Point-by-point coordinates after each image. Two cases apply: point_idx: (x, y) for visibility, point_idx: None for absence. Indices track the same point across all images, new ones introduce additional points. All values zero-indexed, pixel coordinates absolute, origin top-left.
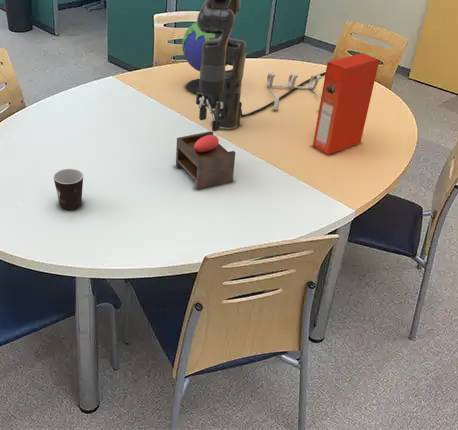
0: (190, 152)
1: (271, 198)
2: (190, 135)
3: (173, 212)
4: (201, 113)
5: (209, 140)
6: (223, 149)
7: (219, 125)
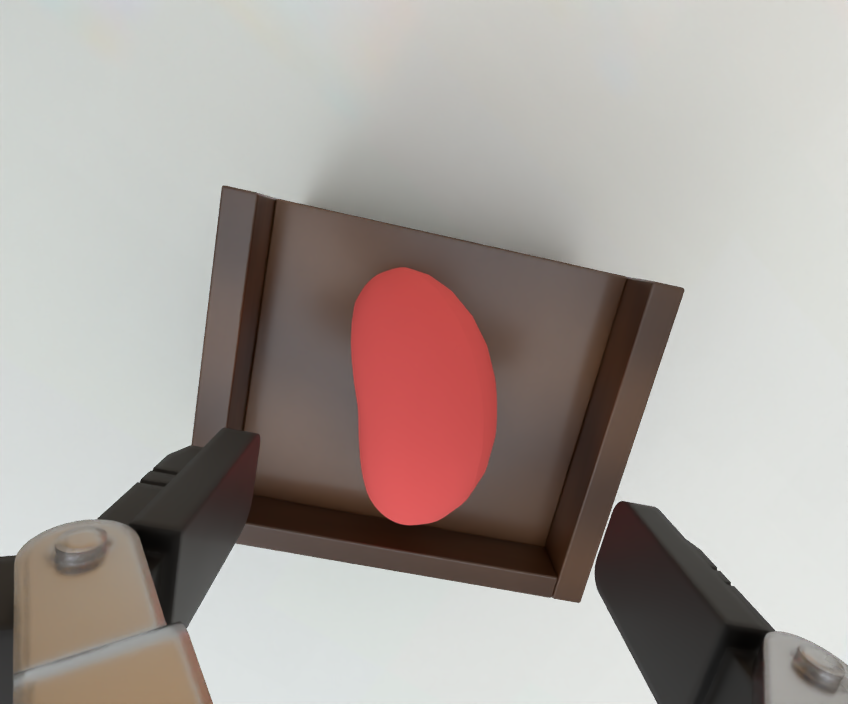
0: (436, 572)
1: (838, 207)
2: (200, 416)
3: (591, 657)
4: (208, 582)
5: (477, 446)
6: (495, 266)
7: (732, 587)
